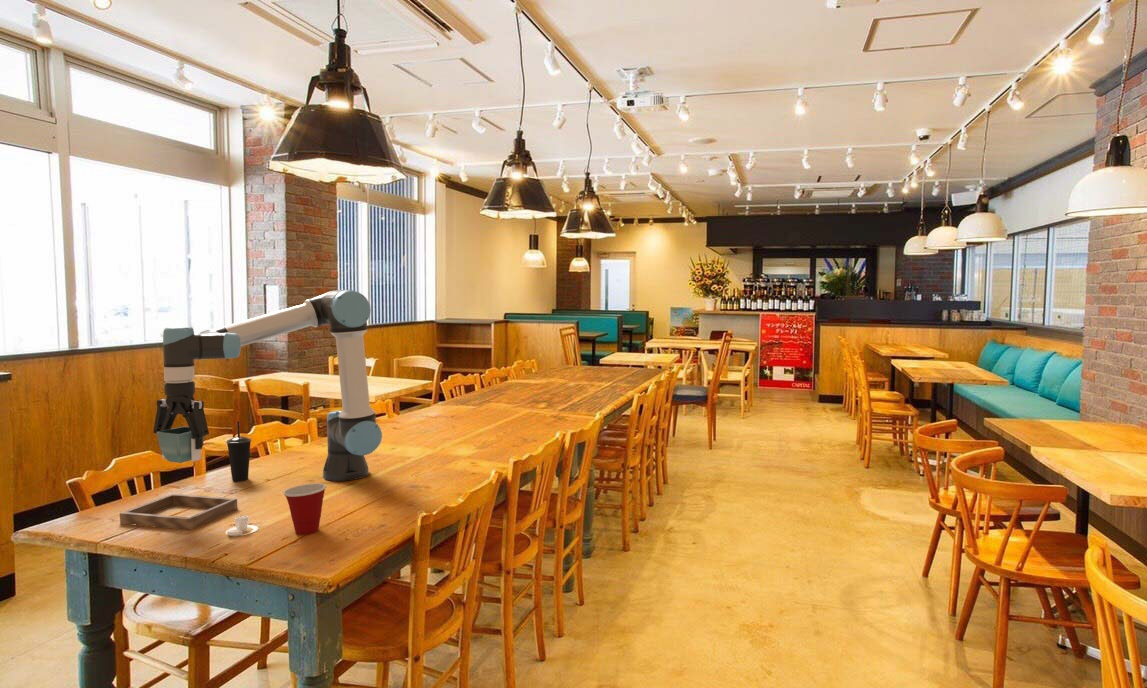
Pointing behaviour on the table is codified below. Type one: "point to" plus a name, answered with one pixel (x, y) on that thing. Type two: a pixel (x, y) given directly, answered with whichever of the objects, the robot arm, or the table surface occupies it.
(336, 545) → the table surface
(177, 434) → the flower pot
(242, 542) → the table surface
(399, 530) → the table surface
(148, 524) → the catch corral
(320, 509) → the plastic cup
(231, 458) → the drinking cup
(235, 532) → the teacup and saucer
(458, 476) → the table surface
